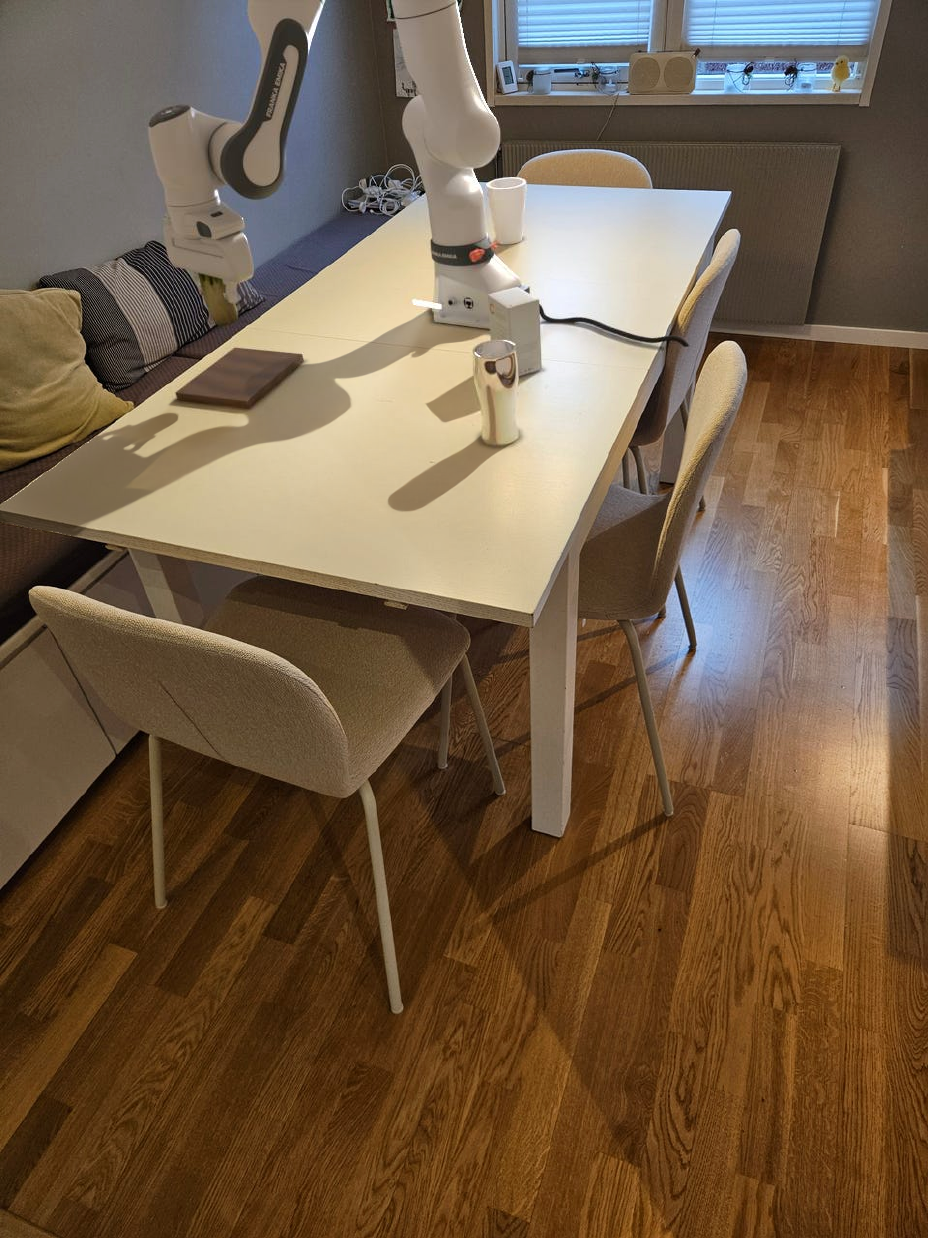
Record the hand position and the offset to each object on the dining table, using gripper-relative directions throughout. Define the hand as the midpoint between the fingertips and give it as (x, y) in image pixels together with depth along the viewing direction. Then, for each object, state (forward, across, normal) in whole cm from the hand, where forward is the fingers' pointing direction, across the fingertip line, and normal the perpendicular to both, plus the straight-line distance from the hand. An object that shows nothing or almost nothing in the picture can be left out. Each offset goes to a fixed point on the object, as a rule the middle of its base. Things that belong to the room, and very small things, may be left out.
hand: (219, 298), depth 156 cm
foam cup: (+15, 0, +86) cm, 88 cm away
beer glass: (+16, +56, +8) cm, 59 cm away
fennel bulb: (+5, 0, 0) cm, 5 cm away
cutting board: (+16, 0, 0) cm, 16 cm away
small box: (+16, +44, +30) cm, 55 cm away
